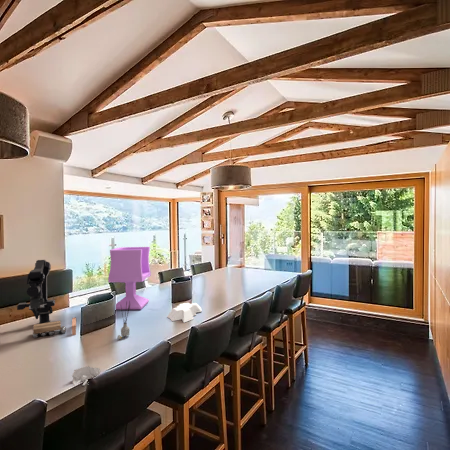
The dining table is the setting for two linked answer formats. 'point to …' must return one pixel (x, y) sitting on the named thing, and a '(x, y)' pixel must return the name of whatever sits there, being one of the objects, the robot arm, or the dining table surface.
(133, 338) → the dining table surface
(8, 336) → the dining table surface
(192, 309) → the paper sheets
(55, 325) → the slab
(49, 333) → the roller
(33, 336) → the roller
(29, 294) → the robot arm
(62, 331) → the roller
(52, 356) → the dining table surface
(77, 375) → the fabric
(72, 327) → the bar
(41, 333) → the roller mid
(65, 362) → the dining table surface
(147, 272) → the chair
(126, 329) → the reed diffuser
